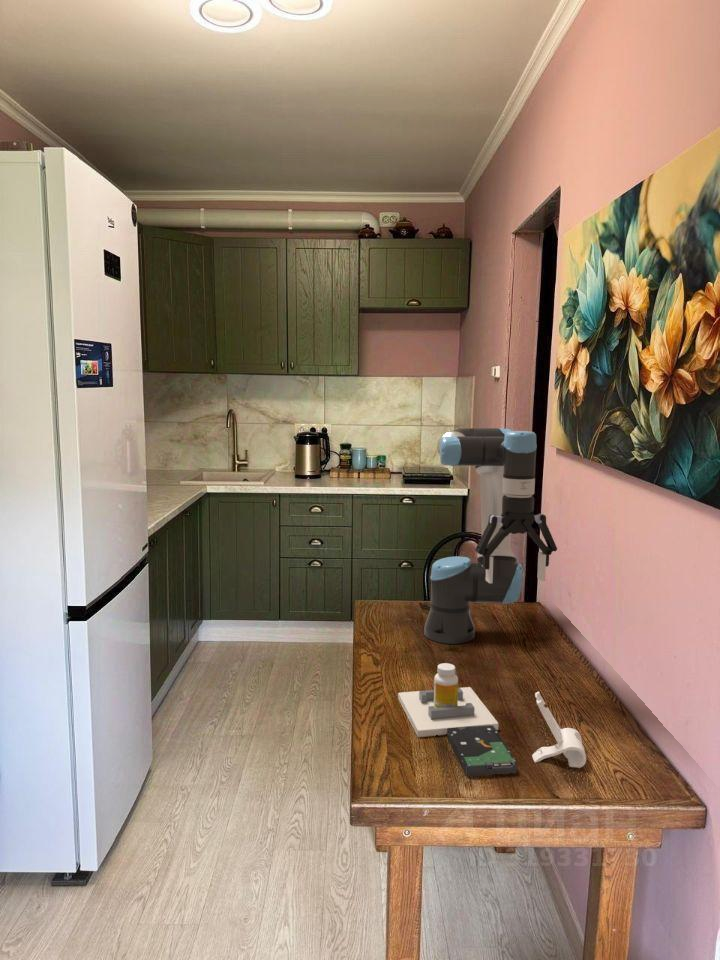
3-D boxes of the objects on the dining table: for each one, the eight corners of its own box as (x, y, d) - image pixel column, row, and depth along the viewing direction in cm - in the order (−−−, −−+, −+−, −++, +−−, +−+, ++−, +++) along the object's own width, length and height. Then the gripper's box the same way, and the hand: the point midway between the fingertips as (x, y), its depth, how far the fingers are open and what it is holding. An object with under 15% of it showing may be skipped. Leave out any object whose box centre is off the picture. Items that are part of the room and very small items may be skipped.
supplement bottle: (460, 712, 147) (461, 670, 146) (437, 713, 147) (438, 672, 145) (453, 700, 153) (454, 660, 151) (430, 702, 152) (431, 662, 150)
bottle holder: (398, 698, 157) (398, 684, 157) (470, 692, 160) (470, 679, 160) (417, 737, 139) (418, 721, 139) (498, 729, 143) (498, 714, 142)
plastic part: (585, 769, 128) (589, 713, 127) (533, 762, 130) (536, 707, 129) (580, 748, 135) (584, 695, 134) (531, 743, 137) (533, 690, 136)
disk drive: (445, 740, 140) (466, 779, 125) (445, 727, 139) (466, 765, 125) (492, 736, 141) (518, 775, 126) (493, 724, 141) (519, 761, 126)
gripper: (474, 498, 153) (472, 587, 156) (573, 496, 157) (569, 582, 160) (463, 494, 160) (461, 578, 163) (559, 491, 165) (555, 574, 168)
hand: (515, 580), depth 162 cm, fingers open, 13 cm apart
